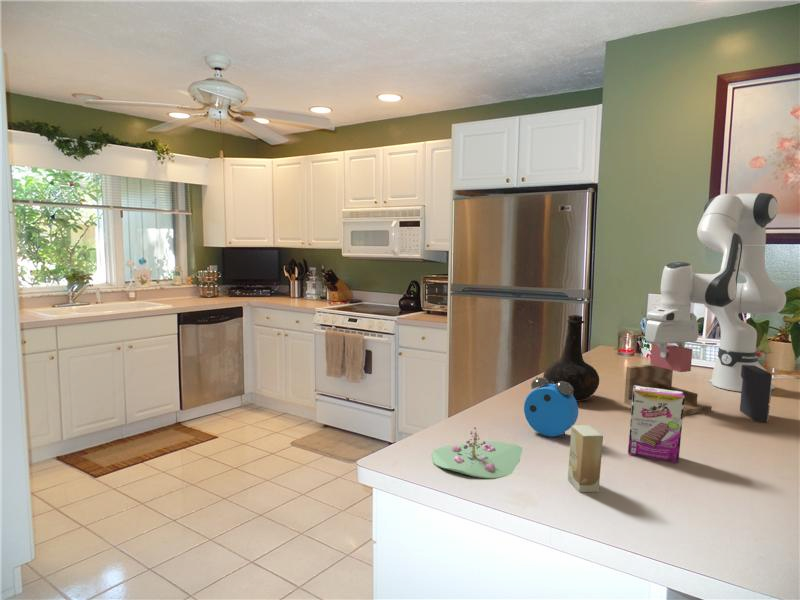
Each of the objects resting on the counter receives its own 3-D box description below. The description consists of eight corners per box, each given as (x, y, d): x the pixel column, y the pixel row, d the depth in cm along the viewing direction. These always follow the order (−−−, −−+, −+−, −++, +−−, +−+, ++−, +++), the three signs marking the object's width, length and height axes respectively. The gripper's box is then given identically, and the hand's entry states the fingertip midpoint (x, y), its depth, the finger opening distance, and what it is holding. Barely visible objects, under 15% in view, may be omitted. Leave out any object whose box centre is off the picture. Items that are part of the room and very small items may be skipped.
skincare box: (566, 479, 111) (569, 424, 109) (586, 478, 111) (589, 424, 110) (579, 493, 104) (583, 435, 103) (600, 493, 105) (603, 435, 103)
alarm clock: (577, 436, 136) (580, 381, 135) (569, 443, 131) (572, 386, 130) (531, 425, 144) (533, 373, 143) (521, 431, 139) (524, 377, 138)
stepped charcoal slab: (770, 423, 151) (774, 373, 149) (753, 422, 152) (758, 372, 150) (752, 411, 162) (756, 365, 160) (737, 410, 162) (741, 364, 161)
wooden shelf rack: (666, 396, 176) (669, 362, 175) (711, 410, 162) (714, 373, 161) (624, 402, 168) (626, 366, 167) (667, 417, 154) (670, 378, 152)
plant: (469, 434, 138) (470, 401, 137) (542, 454, 125) (544, 418, 124) (414, 463, 118) (415, 425, 117) (494, 491, 106) (495, 449, 105)
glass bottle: (539, 401, 168) (543, 316, 165) (545, 387, 184) (549, 310, 182) (597, 408, 161) (603, 320, 158) (598, 394, 178) (603, 314, 175)
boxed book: (659, 363, 170) (661, 342, 169) (690, 371, 160) (692, 349, 159) (650, 364, 168) (651, 343, 167) (680, 372, 158) (682, 349, 157)
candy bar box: (627, 455, 125) (632, 389, 123) (628, 448, 129) (632, 384, 127) (679, 464, 120) (685, 396, 118) (678, 456, 124) (683, 390, 123)
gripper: (687, 311, 169) (684, 352, 170) (643, 313, 161) (639, 356, 162) (705, 314, 163) (701, 356, 165) (660, 315, 155) (657, 360, 156)
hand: (670, 356), depth 163 cm, fingers closed on boxed book, 4 cm apart
